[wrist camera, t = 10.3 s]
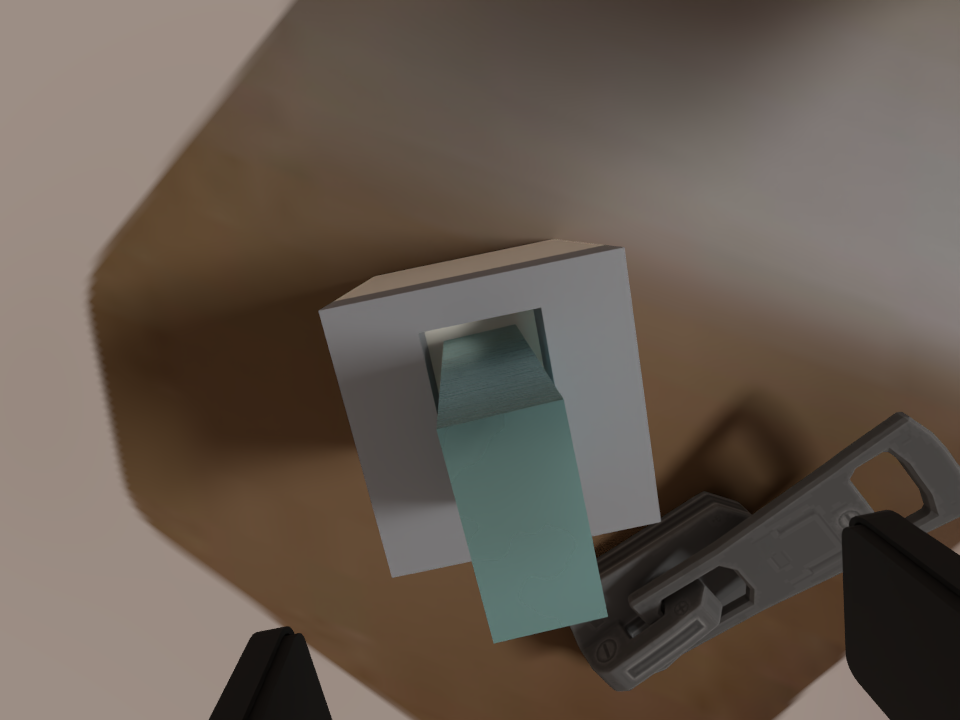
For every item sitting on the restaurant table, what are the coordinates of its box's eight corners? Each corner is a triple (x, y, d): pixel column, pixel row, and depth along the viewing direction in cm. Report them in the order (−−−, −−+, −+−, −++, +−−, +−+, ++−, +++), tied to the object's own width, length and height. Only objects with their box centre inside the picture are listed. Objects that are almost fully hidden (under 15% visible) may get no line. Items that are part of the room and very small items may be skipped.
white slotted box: (553, 239, 33) (624, 247, 19) (581, 409, 35) (661, 522, 22) (374, 276, 33) (318, 310, 19) (415, 443, 35) (392, 577, 22)
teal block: (515, 324, 22) (563, 399, 12) (544, 457, 24) (607, 616, 14) (443, 341, 22) (436, 429, 13) (477, 472, 24) (493, 643, 14)
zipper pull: (994, 510, 31) (649, 756, 34) (901, 462, 38) (618, 672, 41) (917, 400, 29) (559, 670, 32) (833, 368, 36) (542, 596, 39)
